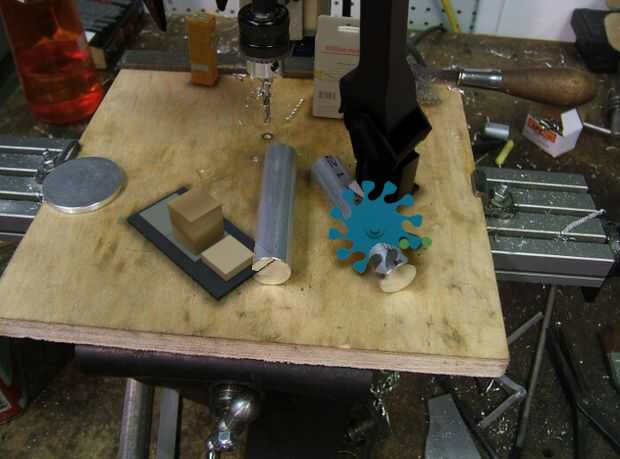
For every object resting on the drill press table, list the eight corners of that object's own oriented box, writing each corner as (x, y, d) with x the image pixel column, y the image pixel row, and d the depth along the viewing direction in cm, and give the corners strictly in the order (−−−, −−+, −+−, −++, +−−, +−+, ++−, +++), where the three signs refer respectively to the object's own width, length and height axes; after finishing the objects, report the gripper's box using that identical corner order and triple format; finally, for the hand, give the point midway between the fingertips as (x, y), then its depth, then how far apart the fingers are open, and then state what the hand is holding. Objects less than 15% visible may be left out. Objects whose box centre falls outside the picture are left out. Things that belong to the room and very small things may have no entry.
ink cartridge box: (372, 104, 83) (386, 5, 72) (371, 122, 79) (384, 22, 69) (315, 98, 83) (320, -1, 73) (311, 116, 80) (315, 15, 69)
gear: (312, 254, 59) (347, 165, 58) (318, 252, 65) (350, 171, 64) (412, 294, 57) (448, 203, 57) (409, 288, 63) (441, 205, 63)
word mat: (275, 259, 60) (275, 249, 59) (217, 300, 56) (216, 290, 55) (184, 188, 68) (182, 178, 67) (127, 220, 64) (124, 210, 62)
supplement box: (213, 87, 84) (207, 23, 77) (191, 83, 85) (183, 19, 78) (220, 76, 87) (215, 13, 80) (199, 72, 87) (192, 9, 80)
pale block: (224, 237, 62) (221, 203, 58) (196, 255, 60) (190, 222, 56) (202, 218, 64) (197, 185, 60) (173, 236, 62) (166, 202, 58)
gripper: (148, -82, 53) (169, 68, 64) (292, -114, 62) (288, 22, 73) (86, -111, 58) (116, 32, 69) (228, -136, 67) (233, -7, 79)
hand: (193, 20), depth 72 cm, fingers open, 9 cm apart
